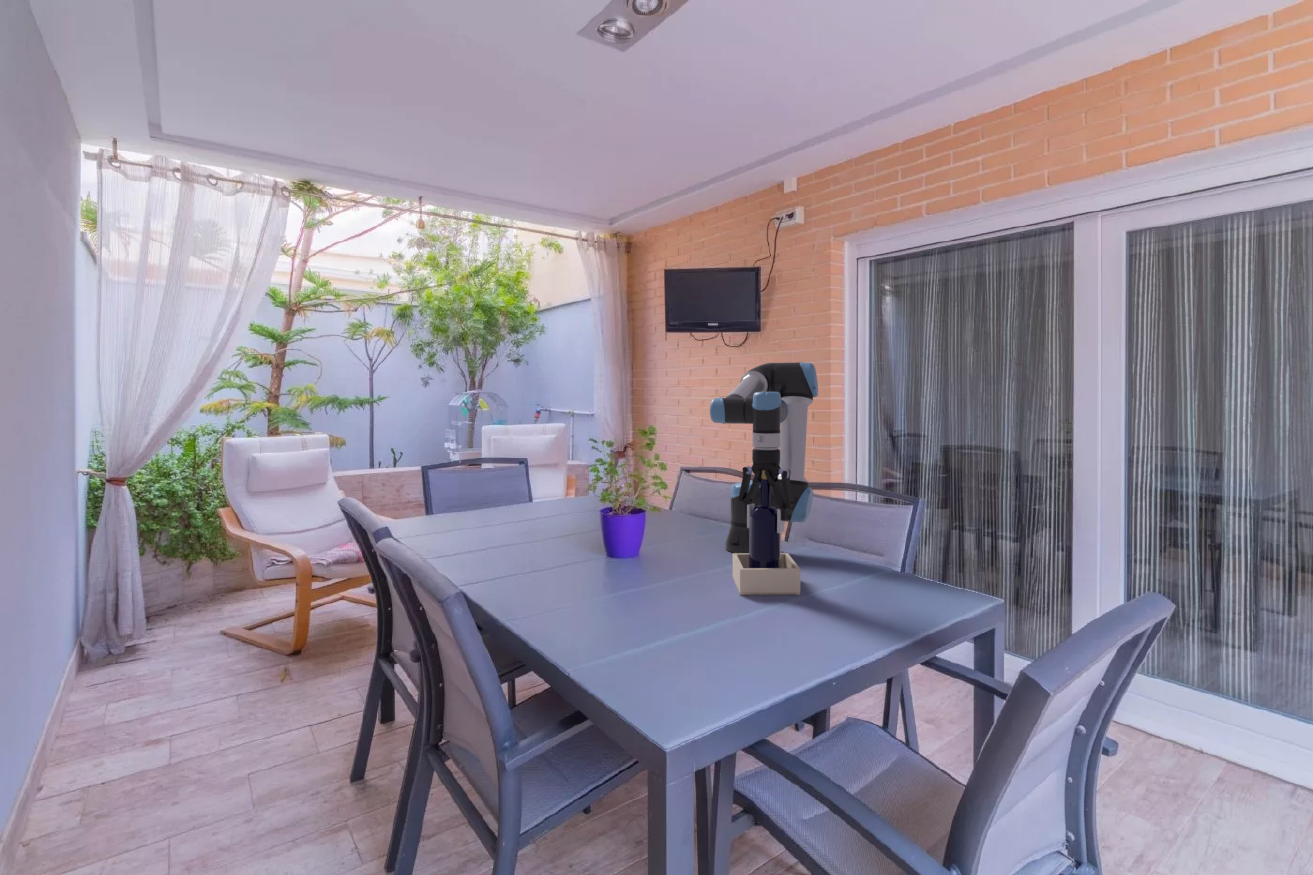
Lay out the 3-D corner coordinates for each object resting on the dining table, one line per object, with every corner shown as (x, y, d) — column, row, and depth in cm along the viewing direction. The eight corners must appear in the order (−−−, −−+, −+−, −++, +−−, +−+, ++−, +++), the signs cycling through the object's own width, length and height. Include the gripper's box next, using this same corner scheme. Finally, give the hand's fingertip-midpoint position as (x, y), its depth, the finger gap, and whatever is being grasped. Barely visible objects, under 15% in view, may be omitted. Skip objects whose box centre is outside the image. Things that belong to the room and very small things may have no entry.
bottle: (761, 570, 182) (762, 466, 179) (788, 577, 175) (789, 470, 173) (741, 577, 176) (742, 470, 173) (768, 584, 169) (769, 473, 166)
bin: (732, 576, 184) (732, 553, 183) (787, 576, 184) (787, 553, 183) (739, 595, 168) (740, 569, 167) (800, 595, 168) (800, 569, 167)
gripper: (725, 446, 176) (725, 526, 178) (795, 452, 163) (794, 538, 165) (740, 444, 182) (739, 521, 184) (808, 449, 168) (807, 532, 170)
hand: (765, 529), depth 174 cm, fingers closed on bottle, 9 cm apart
